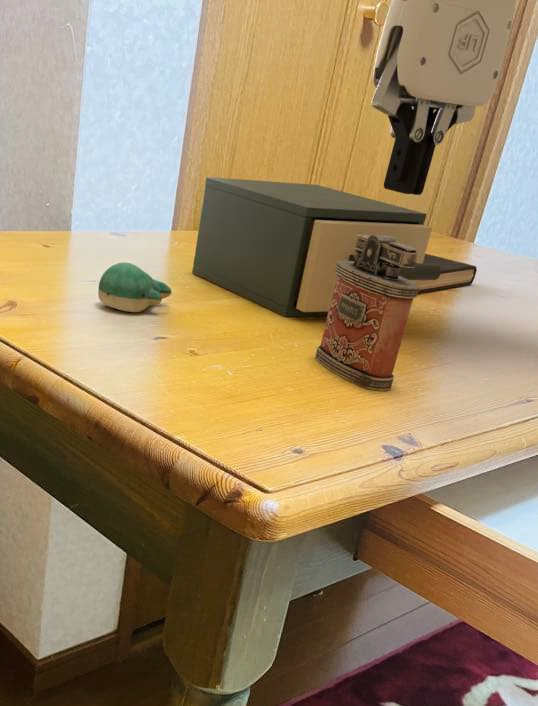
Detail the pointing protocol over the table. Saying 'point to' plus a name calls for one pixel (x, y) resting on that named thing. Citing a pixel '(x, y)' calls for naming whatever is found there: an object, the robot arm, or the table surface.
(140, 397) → the table surface
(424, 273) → the drawer
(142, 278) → the whale figurine
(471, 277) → the hardcover book
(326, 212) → the cabinet
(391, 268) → the lighter
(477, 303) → the table surface
